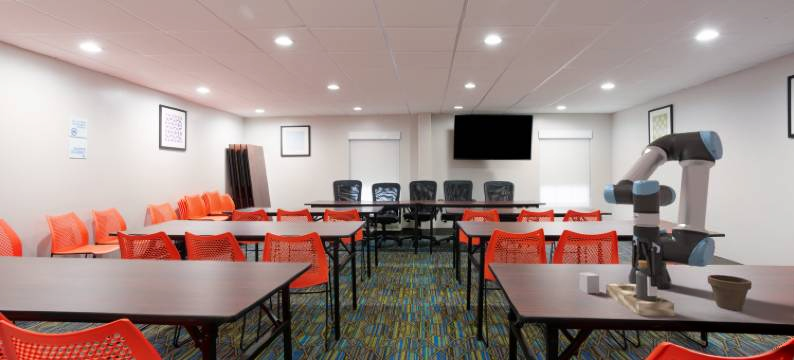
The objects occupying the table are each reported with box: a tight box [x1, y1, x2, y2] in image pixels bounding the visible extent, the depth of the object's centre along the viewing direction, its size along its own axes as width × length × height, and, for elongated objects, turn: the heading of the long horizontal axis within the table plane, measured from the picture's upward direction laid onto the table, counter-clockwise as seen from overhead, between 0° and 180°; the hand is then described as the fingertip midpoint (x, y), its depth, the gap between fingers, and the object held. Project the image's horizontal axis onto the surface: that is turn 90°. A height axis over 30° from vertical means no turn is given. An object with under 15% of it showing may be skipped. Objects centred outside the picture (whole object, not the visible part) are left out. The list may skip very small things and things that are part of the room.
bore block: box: [605, 283, 675, 317], centre depth 133 cm, size 11×22×4 cm, turn 176°
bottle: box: [636, 260, 657, 302], centre depth 127 cm, size 6×6×15 cm
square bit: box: [579, 271, 600, 294], centre depth 147 cm, size 5×5×7 cm
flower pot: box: [707, 274, 752, 311], centre depth 129 cm, size 12×11×10 cm
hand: (646, 292), depth 127 cm, fingers closed on bottle, 6 cm apart
